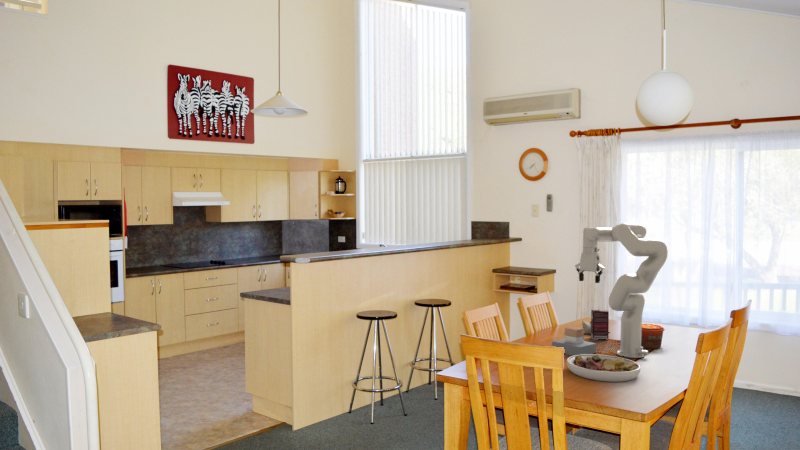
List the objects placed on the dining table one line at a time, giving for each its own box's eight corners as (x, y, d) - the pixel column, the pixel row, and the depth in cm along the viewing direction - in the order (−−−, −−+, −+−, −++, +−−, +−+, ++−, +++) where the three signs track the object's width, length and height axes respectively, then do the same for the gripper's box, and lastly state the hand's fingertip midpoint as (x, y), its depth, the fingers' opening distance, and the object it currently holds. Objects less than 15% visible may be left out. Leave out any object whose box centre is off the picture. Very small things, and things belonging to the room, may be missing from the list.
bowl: (582, 361, 272) (582, 344, 272) (649, 373, 253) (649, 355, 253) (555, 374, 249) (555, 356, 248) (626, 388, 230) (627, 369, 229)
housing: (583, 342, 288) (584, 328, 288) (576, 344, 284) (576, 330, 284) (572, 340, 293) (572, 326, 293) (564, 341, 289) (565, 328, 289)
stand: (596, 353, 287) (596, 343, 287) (579, 357, 278) (579, 347, 278) (568, 347, 299) (568, 337, 299) (551, 351, 290) (552, 341, 290)
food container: (624, 344, 308) (624, 324, 308) (645, 341, 315) (645, 322, 315) (649, 351, 294) (650, 330, 294) (670, 348, 301) (671, 327, 301)
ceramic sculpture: (580, 316, 340) (607, 319, 338) (579, 331, 341) (606, 333, 339) (584, 320, 330) (611, 322, 328) (582, 335, 330) (610, 337, 328)
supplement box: (606, 338, 323) (606, 309, 323) (608, 340, 318) (609, 311, 318) (590, 337, 324) (591, 309, 323) (592, 339, 319) (593, 310, 319)
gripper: (608, 251, 308) (607, 283, 309) (580, 249, 322) (579, 279, 322) (600, 251, 304) (599, 284, 304) (572, 249, 317) (571, 280, 317)
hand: (589, 281), depth 313 cm, fingers open, 9 cm apart
